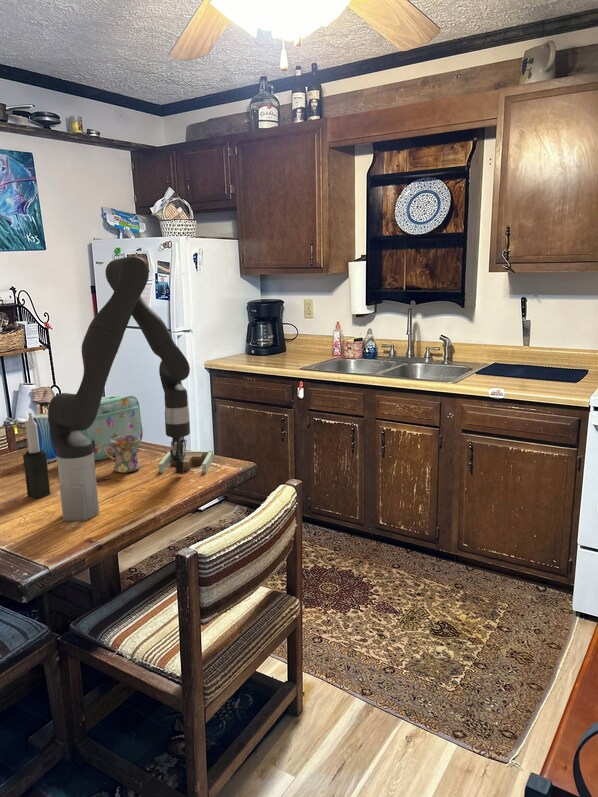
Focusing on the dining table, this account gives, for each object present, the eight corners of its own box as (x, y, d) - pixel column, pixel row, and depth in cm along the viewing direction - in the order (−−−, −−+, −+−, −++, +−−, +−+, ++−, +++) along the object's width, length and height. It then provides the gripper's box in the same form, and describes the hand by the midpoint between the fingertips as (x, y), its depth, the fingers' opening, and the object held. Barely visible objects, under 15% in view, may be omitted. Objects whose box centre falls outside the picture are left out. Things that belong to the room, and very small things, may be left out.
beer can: (34, 458, 208) (29, 414, 205) (60, 454, 211) (55, 411, 208) (35, 464, 201) (30, 419, 197) (61, 461, 204) (57, 416, 201)
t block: (198, 470, 193) (197, 461, 192) (167, 470, 193) (167, 461, 193) (203, 461, 203) (203, 453, 202) (174, 461, 203) (174, 453, 202)
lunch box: (87, 466, 199) (81, 404, 194) (67, 461, 204) (61, 401, 200) (146, 446, 221) (142, 390, 216) (127, 442, 226) (123, 387, 221)
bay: (206, 472, 191) (205, 464, 190) (159, 472, 191) (158, 464, 191) (213, 459, 205) (213, 450, 204) (169, 459, 205) (169, 451, 204)
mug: (143, 464, 200) (141, 434, 197) (139, 473, 191) (137, 442, 188) (107, 466, 198) (104, 436, 196) (101, 475, 189) (98, 444, 187)
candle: (52, 493, 174) (43, 411, 169) (37, 499, 170) (27, 415, 165) (41, 490, 177) (32, 409, 171) (25, 496, 173) (16, 413, 167)
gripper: (184, 425, 178) (187, 479, 181) (193, 415, 191) (195, 466, 194) (160, 425, 178) (163, 479, 181) (170, 415, 191) (173, 466, 194)
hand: (180, 472), depth 188 cm, fingers closed
